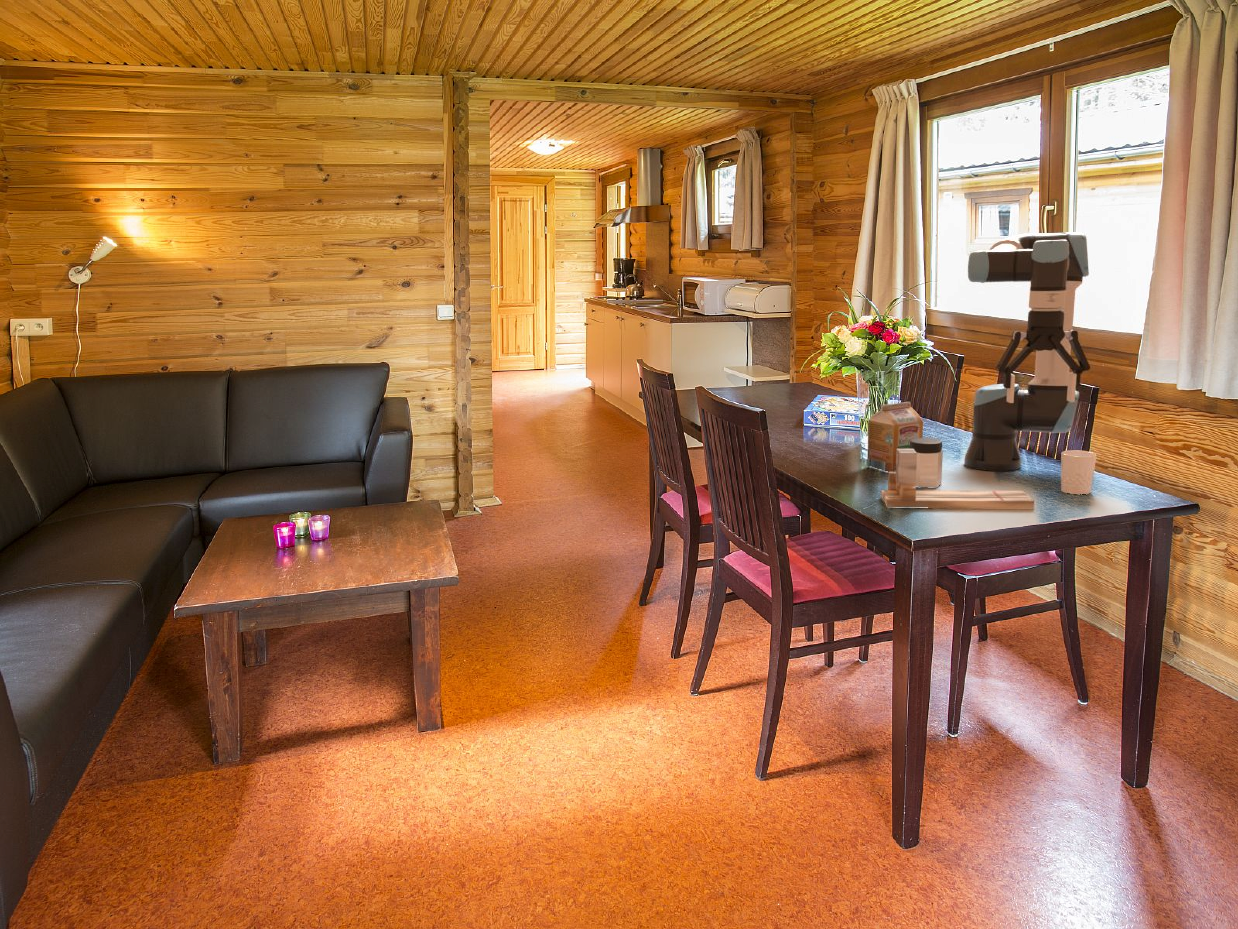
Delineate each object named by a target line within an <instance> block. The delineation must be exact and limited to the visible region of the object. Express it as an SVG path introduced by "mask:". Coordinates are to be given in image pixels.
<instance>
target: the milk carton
mask: <svg viewBox="0 0 1238 929" xmlns="http://www.w3.org/2000/svg"><path fill="white" fill-rule="evenodd" d="M867 424H868V425H867V428H868V429H867V430H868V431H867V461H866V463H867V464H866V465H868V466H872V467H875V468H877V469H882V470H885V471H888V472H896V456H897V449H910V440H911V439H915V438H924V437H923V436H924V420H923V418H922V417H921V415H920V414H919V413H917V411H916V410H915V409H914V408H913V407H912V403H911V401H905V402H896V403H890V404H889V403H888V404H882V405H881V406H880V410H879V411H877V412H875V413H874V414H873V415H871V417H870V418H869V419H868V422H867Z"/></svg>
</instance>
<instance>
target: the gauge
mask: <svg viewBox="0 0 1238 929" xmlns="http://www.w3.org/2000/svg"><path fill="white" fill-rule="evenodd" d="M916 465H917V452H916V451H915V450H914V449H897V456H896V472H889V474H888V483H887V484H888V485H887V490H897V492H898V494H899V495H900V497H901V498H902V500H905V501H916V490H917V488H916V487H915V486H914V485H916Z"/></svg>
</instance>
